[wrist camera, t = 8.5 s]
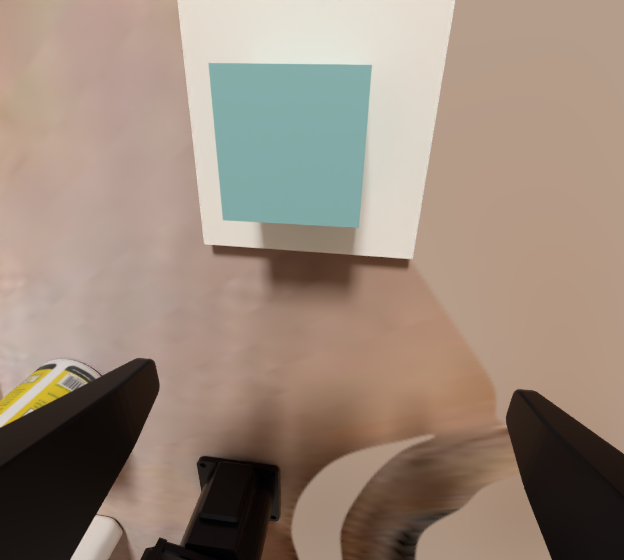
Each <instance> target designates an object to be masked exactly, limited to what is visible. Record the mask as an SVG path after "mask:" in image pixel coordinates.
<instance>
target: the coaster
mask: <svg viewBox="0 0 624 560" xmlns="http://www.w3.org/2000/svg"><path fill="white" fill-rule="evenodd" d="M177 1H178V10H179V19H180V28H181V37H182V46H183V55H184V64H185V74H186V83H187V92H188V101H189V110H190V119H191V128H192V137H193V147H194V156H195V165H196V174H197V183H198V192H199V201H200V210H201V220H202V229H203V238H204V244H209V245H223V246H237V247H251V248H265V249H279V250H292V251H306V252H320V253H334V254H348V255H362V256H376V257H390V258H404V259H413V253H414V247H415V241H416V235H417V228H418V222H419V216H420V210H421V204H422V198H423V192H424V186H425V180H426V173H427V168H428V162H429V156H430V150H431V144H432V138H433V132H434V126H435V119H436V114H437V107H438V101H439V95H440V89H441V83H442V77H443V71H444V65H445V59H446V53H447V47H448V41H449V35H450V29H451V22H452V16H453V11H454V5H455V0H177ZM208 63H253V64H346V65H372V71H371V83H370V96H369V108H368V121H367V134H366V146H365V159H364V171H363V184H362V196H361V209H360V221H359V228H354V227H336V226H317V225H299V224H281V223H263V222H245V221H226V220H223V215H222V205H221V194H220V183H219V172H218V161H217V151H216V140H215V129H214V118H213V108H212V97H211V86H210V75H209V64H208Z"/></svg>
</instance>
